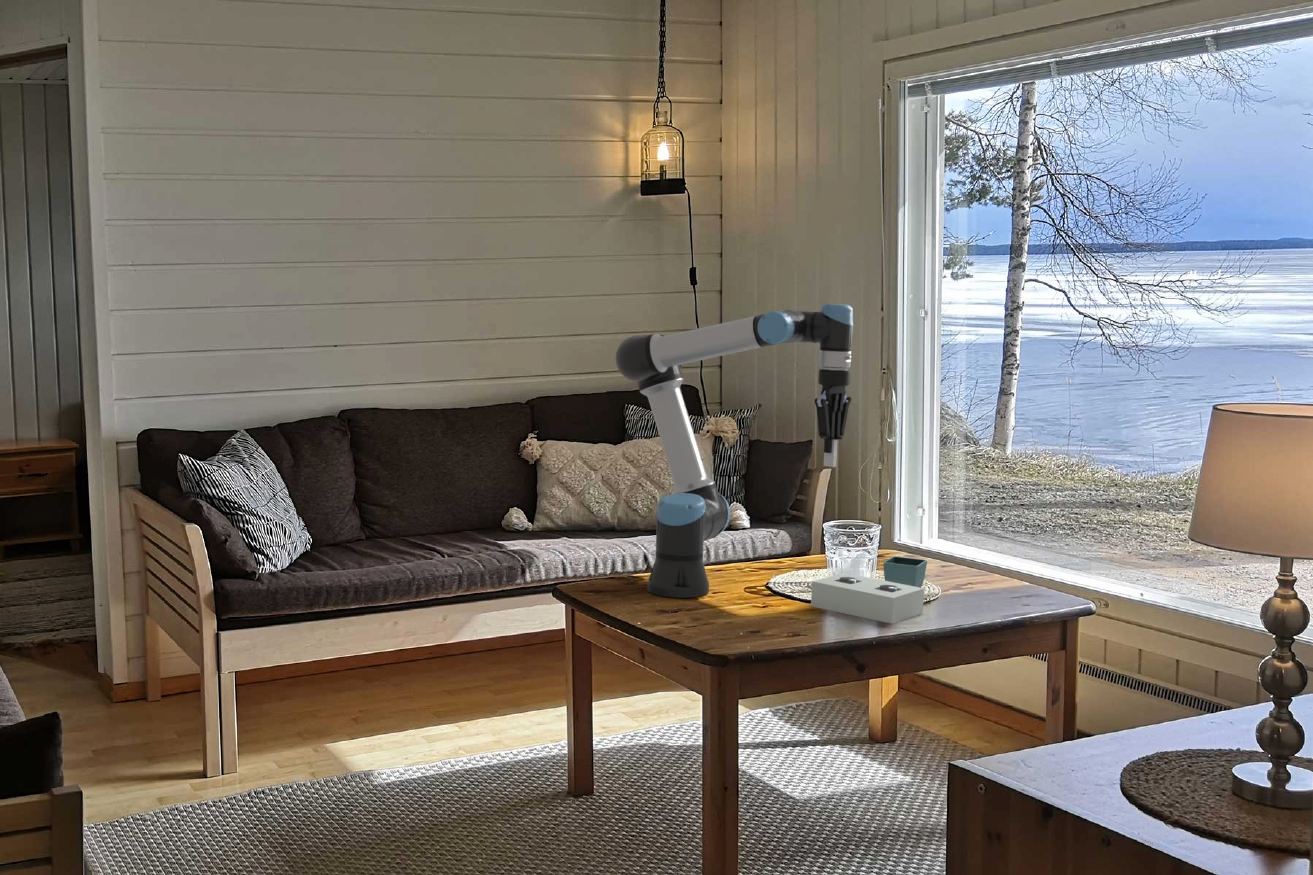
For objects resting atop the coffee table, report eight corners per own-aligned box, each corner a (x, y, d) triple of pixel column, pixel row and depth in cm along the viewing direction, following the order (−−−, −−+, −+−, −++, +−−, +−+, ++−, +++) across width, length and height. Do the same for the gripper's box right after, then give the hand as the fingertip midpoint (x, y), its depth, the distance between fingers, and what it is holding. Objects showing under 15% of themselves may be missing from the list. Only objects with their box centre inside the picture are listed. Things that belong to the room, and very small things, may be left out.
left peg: (835, 603, 310) (836, 578, 310) (844, 600, 313) (845, 576, 313) (849, 606, 308) (850, 581, 307) (858, 603, 311) (859, 578, 310)
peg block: (810, 606, 309) (812, 581, 308) (842, 596, 319) (844, 572, 319) (892, 623, 295) (893, 597, 294) (922, 613, 305) (924, 588, 305)
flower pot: (880, 597, 320) (882, 561, 319) (891, 590, 328) (893, 555, 327) (915, 602, 316) (917, 566, 315) (925, 595, 324) (927, 560, 323)
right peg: (875, 611, 303) (876, 586, 302) (883, 608, 306) (885, 583, 306) (890, 614, 301) (891, 589, 300) (898, 612, 304) (900, 586, 303)
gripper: (833, 370, 304) (828, 470, 307) (862, 369, 314) (857, 465, 317) (806, 368, 309) (801, 466, 312) (836, 367, 319) (831, 462, 322)
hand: (829, 466), depth 315 cm, fingers closed
